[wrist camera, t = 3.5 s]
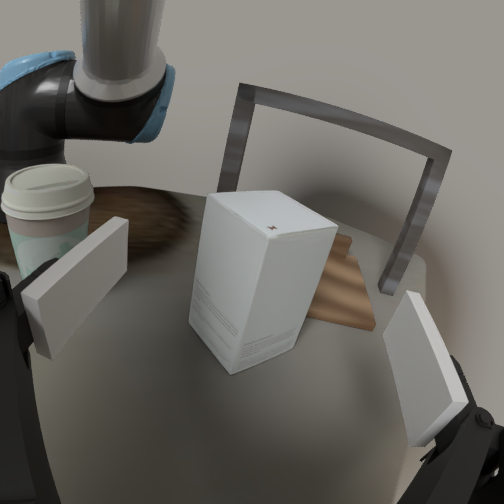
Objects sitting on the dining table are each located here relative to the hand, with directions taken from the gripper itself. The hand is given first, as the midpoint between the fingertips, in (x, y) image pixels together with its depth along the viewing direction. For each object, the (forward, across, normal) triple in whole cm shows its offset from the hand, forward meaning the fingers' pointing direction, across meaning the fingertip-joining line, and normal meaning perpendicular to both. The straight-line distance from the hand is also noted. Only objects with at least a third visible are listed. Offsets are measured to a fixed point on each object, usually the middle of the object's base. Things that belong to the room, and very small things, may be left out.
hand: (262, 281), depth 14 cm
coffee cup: (+8, -18, -13) cm, 24 cm away
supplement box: (+10, 0, -13) cm, 16 cm away
